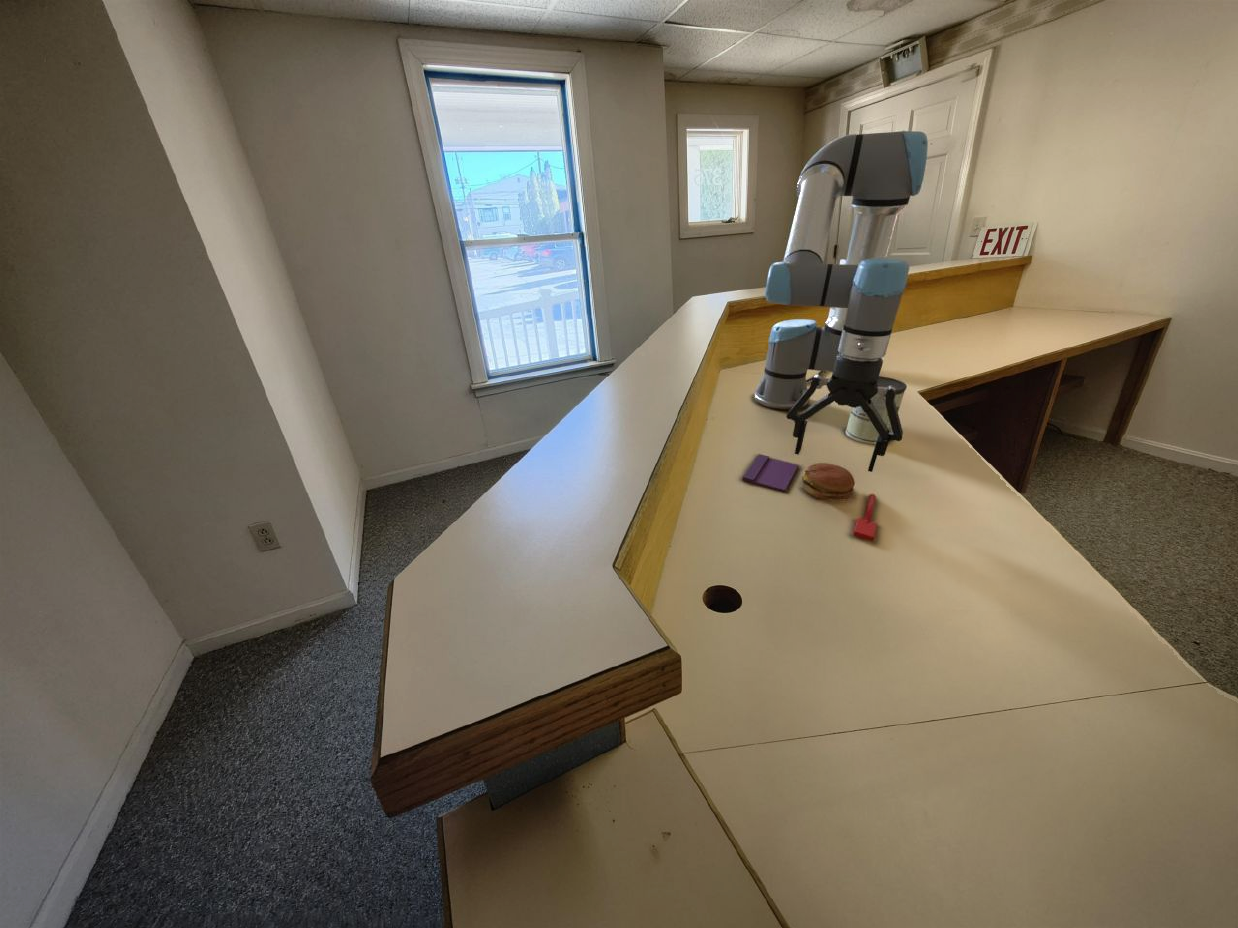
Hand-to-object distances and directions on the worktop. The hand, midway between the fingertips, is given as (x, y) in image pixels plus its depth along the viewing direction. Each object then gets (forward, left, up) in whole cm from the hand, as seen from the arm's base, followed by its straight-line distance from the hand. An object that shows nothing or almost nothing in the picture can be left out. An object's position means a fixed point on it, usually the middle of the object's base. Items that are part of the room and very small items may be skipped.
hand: (832, 459), depth 90 cm
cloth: (-1, -11, -7) cm, 13 cm away
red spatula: (+5, +9, -7) cm, 12 cm away
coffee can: (-32, +5, -7) cm, 33 cm away
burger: (0, 0, -7) cm, 7 cm away
